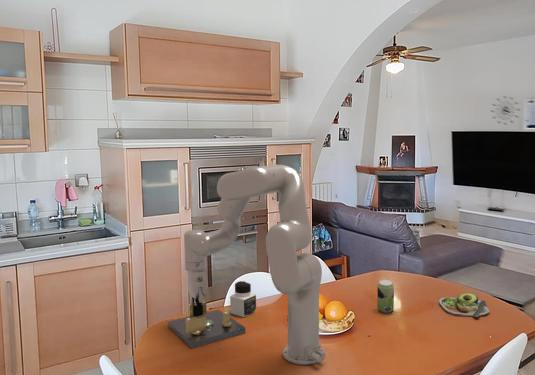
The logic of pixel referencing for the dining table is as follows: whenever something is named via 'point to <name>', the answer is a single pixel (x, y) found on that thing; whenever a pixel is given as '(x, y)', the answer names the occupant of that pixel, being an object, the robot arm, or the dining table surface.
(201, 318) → the knob
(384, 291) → the beverage can
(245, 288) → the medicine bottle
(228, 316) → the knob
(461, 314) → the salad plate
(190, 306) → the olive open box
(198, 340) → the plate
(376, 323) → the dining table surface
